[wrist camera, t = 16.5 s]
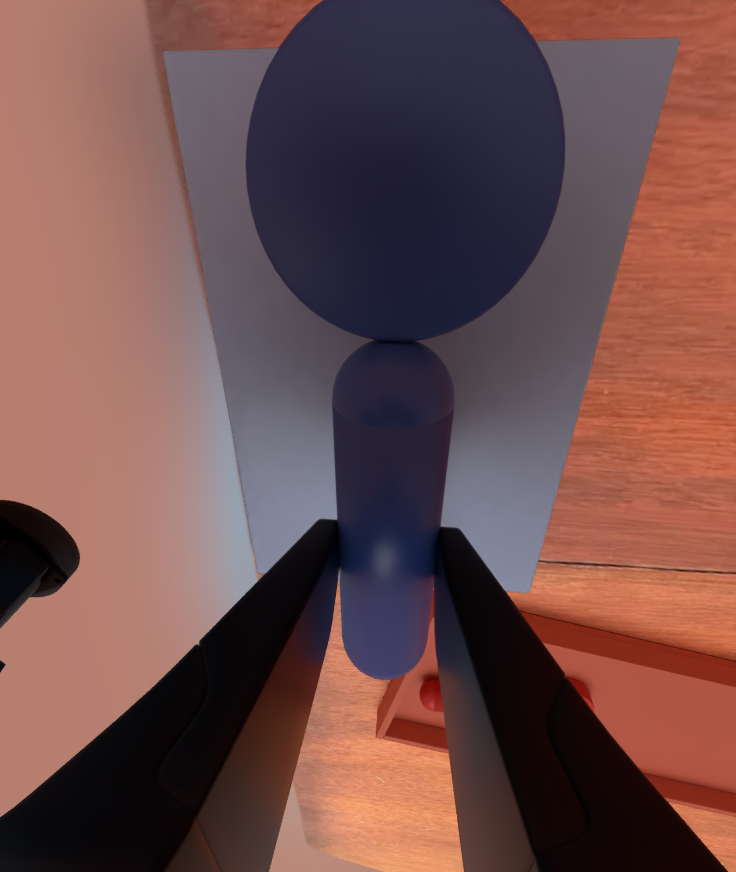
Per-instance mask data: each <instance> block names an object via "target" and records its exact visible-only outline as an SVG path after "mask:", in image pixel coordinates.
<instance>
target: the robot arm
mask: <svg viewBox="0 0 736 872" xmlns="http://www.w3.org/2000/svg"><path fill="white" fill-rule="evenodd" d="M339 568H340V561H339V537H338V523H337V520H336V519H319V520H317V521H316V522H315V523H314V524H313V525H312V526H311V527H310V528H309V529H308V530H307V532H306V533H305V534H304V535H303V536H302V537H301V538H300V539H299V540H298V541H297V542H296V543H295V544H294V545H293V546H292V547H291V548H290V549H289V550H288V551H287V552H286V553H285V554H284V555H283V556H282V557H281V558H280V559H279V560H278V561H277V562H276V563H275V564H274V565H273V566H272V567H271V568H270V569H269V570H268V571H267V572H266V573H265V574H264V575H263V577H262V578H261V579H260V580H259V581H258V582H257V583H256V584H255V585H254V586H253V587H252V588H251V589H250V590H249V591H248V592H247V593H246V594H245V595H244V596H243V597H242V598H241V599H240V600H239V601H238V602H237V603H236V604H235V605H234V606H233V607H232V608H231V609H230V610H229V611H228V613H226V615H224V616H223V617H222V618H221V619H220V621H219V622H218V623H217V624H216V625H215V626H214V627H213V628H212V629H211V630H210V631H209V632H208V633H207V634H206V635H205V636H204V637H203V638H202V639H201V640H200V641H199V645H200V646H199V645H195V646H194V647H193V648H192V649H191V650H190V651H189V652H188V653H187V654H186V655H185V656H184V657H183V658H182V659H181V660H180V661H179V662H178V663H177V664H176V665H175V666H174V667H173V668H172V669H171V670H170V671H169V672H168V673H167V674H166V675H165V676H164V677H163V678H162V679H161V680H160V681H159V682H158V683H157V684H156V685H155V686H154V687H153V688H152V689H151V690H149V691H148V692H147V693H146V694H145V695H144V696H143V697H142V698H140V699H139V700H138V701H137V702H136V703H135V704H134V705H133V706H131V707H130V708H129V709H128V710H127V711H126V712H125V713H124V714H123V715H122V716H120V717H119V718H118V719H117V720H116V721H115V722H113V723H112V724H111V725H110V726H109V727H108V728H106V729H105V730H104V731H103V732H102V733H101V734H99V735H98V736H97V737H96V738H95V739H94V740H93V741H91V742H90V743H89V744H88V745H87V746H86V747H84V749H82V750H81V751H80V752H79V753H77V754H76V755H75V756H74V757H73V758H72V759H70V760H69V761H68V762H67V763H66V764H65V765H63V766H62V767H61V768H60V769H59V770H58V771H56V772H55V773H54V774H53V775H52V776H51V777H50V778H48V779H47V780H46V781H45V782H44V783H43V784H41V785H40V786H39V787H38V788H37V789H36V790H34V791H33V792H32V793H31V794H30V795H28V796H27V797H26V798H25V799H24V800H22V801H21V802H20V803H19V804H17V805H16V806H15V807H14V808H13V809H11V810H10V811H8V812H7V813H6V814H4V815H3V816H1V817H0V872H269V869H270V865H271V861H272V858H273V854H274V850H275V845H276V842H277V838H278V834H279V831H280V827H281V823H282V819H283V815H284V811H285V807H286V803H287V800H288V796H289V792H290V788H291V784H292V780H293V776H294V773H295V769H296V765H297V761H298V757H299V753H300V749H301V746H302V742H303V738H304V734H305V730H306V726H307V722H308V719H309V715H310V711H311V707H312V703H313V699H314V695H315V692H316V688H317V684H318V680H319V676H320V672H321V668H322V665H323V661H324V657H325V653H326V649H327V645H328V641H329V636H330V632H331V626H332V620H333V612H334V605H335V598H336V590H337V583H338V575H339ZM67 580H68V576H67V575H66V574H65V573H64V572H63V571H62V570H61V569H60V568H59V567H58V566H57V565H56V564H55V563H53V562H52V561H51V560H50V559H49V558H48V557H47V556H46V555H45V554H44V553H43V552H42V551H41V550H39V549H38V548H37V547H36V546H35V545H34V544H33V543H32V542H31V541H30V540H29V539H28V538H27V537H25V536H24V535H23V534H22V533H21V532H20V531H19V530H18V529H17V528H16V527H15V526H14V525H13V524H11V523H10V522H9V521H8V520H7V519H6V518H3V517H0V628H1V627H2V626H3V625H4V624H5V623H6V622H7V621H8V620H9V619H10V618H11V616H12V615H13V614H14V613H15V612H16V611H17V610H18V609H19V608H20V607H21V606H22V605H23V604H24V602H25V601H26V600H27V599H28V598H29V597H30V596H31V595H34V594H37V593H40V592H43V591H46V590H49V589H52V588H55V587H58V586H61V585H64V584H65V583H66V582H67ZM434 632H435V648H436V657H437V665H438V673H439V681H440V688H441V696H442V704H443V712H444V720H445V727H446V735H447V743H448V751H449V758H450V766H451V774H452V782H453V790H454V797H455V805H456V813H457V821H458V829H459V836H460V844H461V852H462V860H463V868H464V872H728V871H727V870H726V869H725V868H724V866H723V865H722V864H721V863H720V862H719V861H718V859H717V858H716V857H715V856H714V855H713V854H712V853H711V851H710V850H709V849H708V848H707V847H706V846H705V844H704V843H703V842H702V841H701V840H700V839H699V837H698V836H697V835H696V834H695V833H694V832H693V831H692V829H691V828H690V827H689V826H688V825H687V824H686V822H685V821H684V820H683V819H682V818H681V817H680V815H679V814H678V813H677V812H676V811H675V810H674V809H673V807H672V806H671V805H670V804H669V803H668V802H667V800H666V799H665V798H664V797H663V796H662V795H661V793H660V792H659V791H658V790H657V789H656V788H655V787H654V785H653V784H652V783H651V782H650V781H649V780H648V778H647V777H646V776H645V775H644V774H643V773H642V771H641V770H640V769H639V768H638V767H637V765H636V764H635V763H634V762H633V761H632V759H631V758H630V757H629V756H628V755H627V753H626V752H625V751H624V750H623V749H622V747H621V746H620V745H619V744H618V743H617V741H616V740H615V739H614V738H613V737H612V735H611V734H610V733H609V732H608V730H607V729H606V728H605V726H604V725H603V724H602V722H601V721H600V720H599V718H598V717H597V716H596V714H595V713H594V712H593V711H592V709H591V708H590V707H589V705H588V704H587V703H586V701H585V700H584V699H583V697H582V696H581V695H580V693H579V692H578V690H577V689H576V688H575V686H574V685H573V683H572V682H571V681H570V679H569V678H565V673H564V671H563V670H562V669H561V667H560V666H559V664H558V663H557V662H556V660H555V659H554V658H553V656H552V655H551V653H550V652H549V651H548V649H547V648H546V647H545V645H544V644H543V642H542V641H541V640H540V638H539V637H538V635H537V634H536V633H535V631H534V630H533V629H532V627H531V626H530V624H529V623H528V622H527V620H526V619H525V618H524V616H523V615H522V613H521V612H520V611H519V609H518V608H517V607H516V605H515V604H514V602H513V601H512V600H511V598H510V597H509V596H508V594H507V593H506V591H505V590H504V589H503V587H502V586H501V585H500V583H499V582H498V580H497V579H496V578H495V576H494V575H493V574H492V572H491V571H490V569H489V568H488V567H487V565H486V564H485V563H484V561H483V560H482V558H481V557H480V556H479V554H478V553H477V551H476V550H475V549H474V547H473V546H472V545H471V543H470V542H469V540H468V539H467V538H466V536H465V535H464V534H463V532H462V531H461V530H460V529H459V528H457V527H443V526H442V527H440V530H439V533H438V542H437V551H436V560H435V569H434ZM4 666H5V663H3V662H2V661H0V672H1V671H2V669H3V668H4Z"/></svg>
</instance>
